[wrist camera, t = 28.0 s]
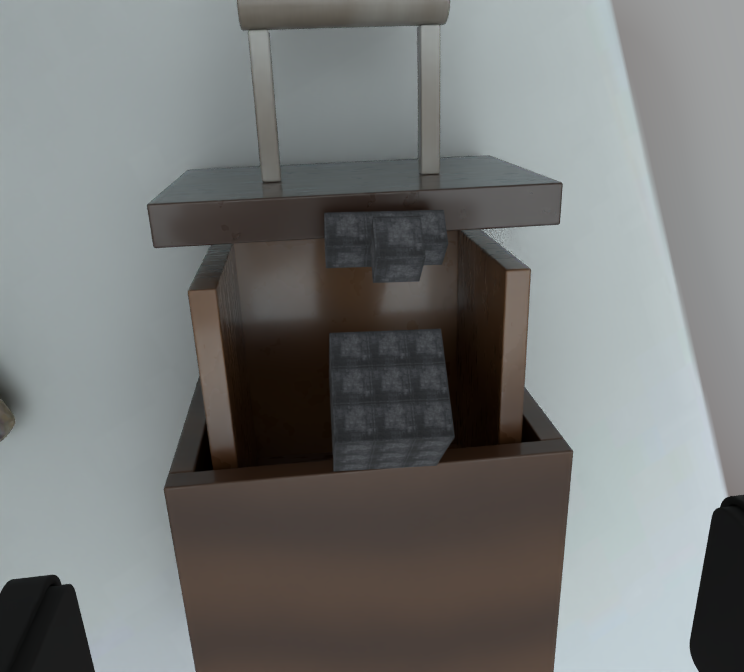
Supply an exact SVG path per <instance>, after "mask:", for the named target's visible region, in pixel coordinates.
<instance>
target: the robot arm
mask: <svg viewBox="0 0 744 672" xmlns="http://www.w3.org/2000/svg"><path fill="white" fill-rule="evenodd" d="M690 653H691V656H692V659H693V662H694V664H695V666H696V668H697V669H698V671H699V672H744V495H738V496H730V497H727V498H725V499H724V500H723V501H722V503H721V506H720V508H717V509H716V510H715V511H714V512H713V515H712V519H711V525H710V530H709V536H708V542H707V547H706V553H705V558H704V564H703V570H702V575H701V581H700V587H699V592H698V598H697V603H696V609H695V615H694V620H693V626H692V632H691V637H690ZM0 672H95V670H94V666H93V662H92V658H91V654H90V650H89V645H88V641H87V637H86V633H85V629H84V625H83V621H82V617H81V613H80V609H79V604H78V600H77V596H76V592H75V589H74V587H73V586H72V585H71V584H65V585H61V582H60V579H59V578H58V577H57V576H56V575H47V576H38V577H29V578H21V579H12V580H10V581H8V582H7V583H6V585H5V586H4V587H3V589H2V591H1V593H0Z"/></svg>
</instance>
